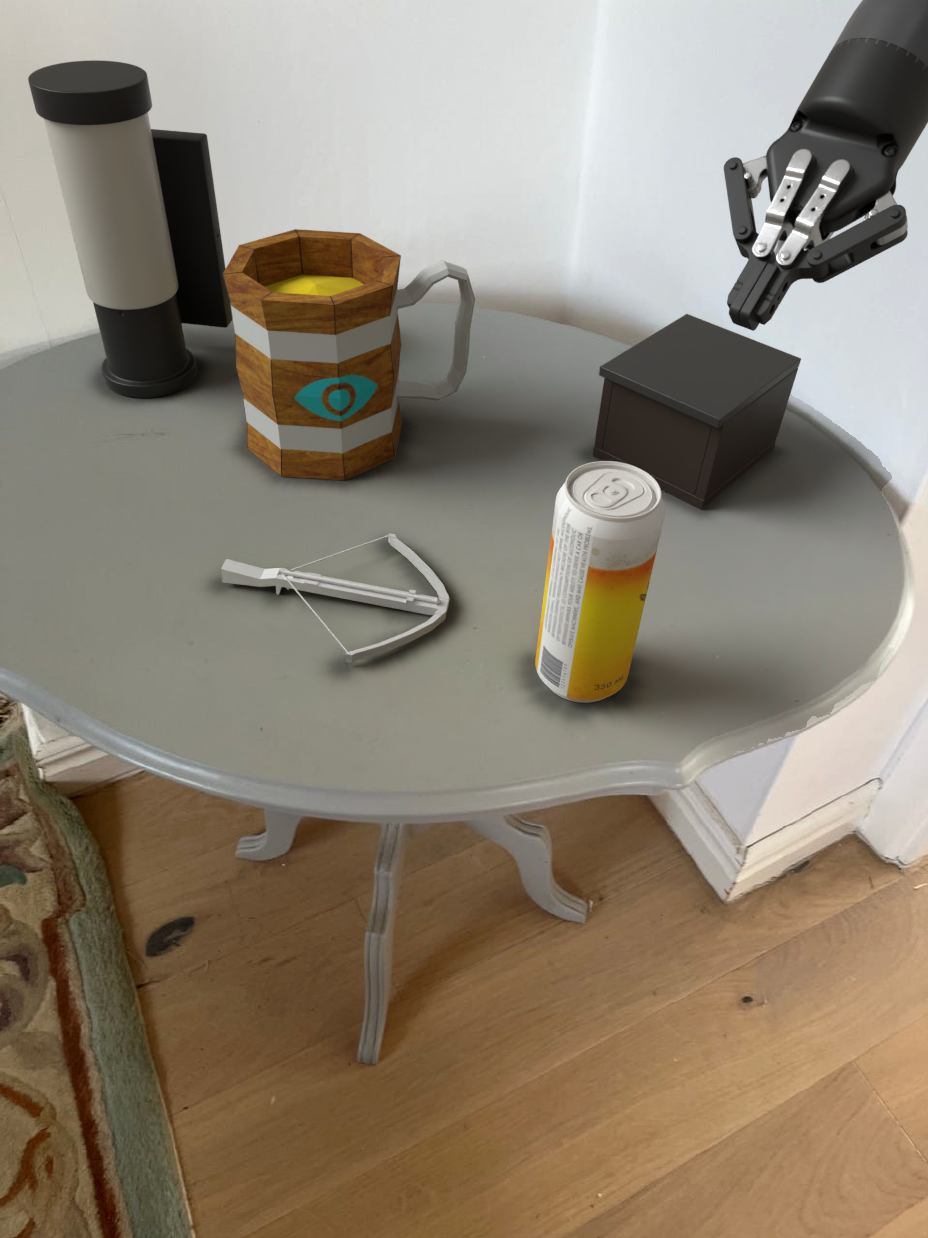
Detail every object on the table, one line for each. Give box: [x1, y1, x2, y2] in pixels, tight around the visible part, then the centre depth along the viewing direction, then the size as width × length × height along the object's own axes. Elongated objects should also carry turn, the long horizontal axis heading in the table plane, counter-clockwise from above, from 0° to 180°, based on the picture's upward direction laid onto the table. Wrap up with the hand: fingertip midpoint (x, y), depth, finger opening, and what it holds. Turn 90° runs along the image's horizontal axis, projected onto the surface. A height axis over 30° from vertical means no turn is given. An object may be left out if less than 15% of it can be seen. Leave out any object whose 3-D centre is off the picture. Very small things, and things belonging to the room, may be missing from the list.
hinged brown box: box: [592, 367, 799, 510], centre depth 79 cm, size 12×11×8 cm
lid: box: [598, 313, 802, 428], centre depth 76 cm, size 13×11×1 cm
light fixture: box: [27, 59, 233, 399], centre depth 81 cm, size 12×11×25 cm
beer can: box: [534, 460, 666, 704], centre depth 58 cm, size 6×6×15 cm
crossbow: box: [220, 533, 450, 664], centre depth 67 cm, size 16×13×2 cm
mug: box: [223, 228, 476, 481], centre depth 78 cm, size 20×14×15 cm
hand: (741, 322), depth 62 cm, fingers closed
